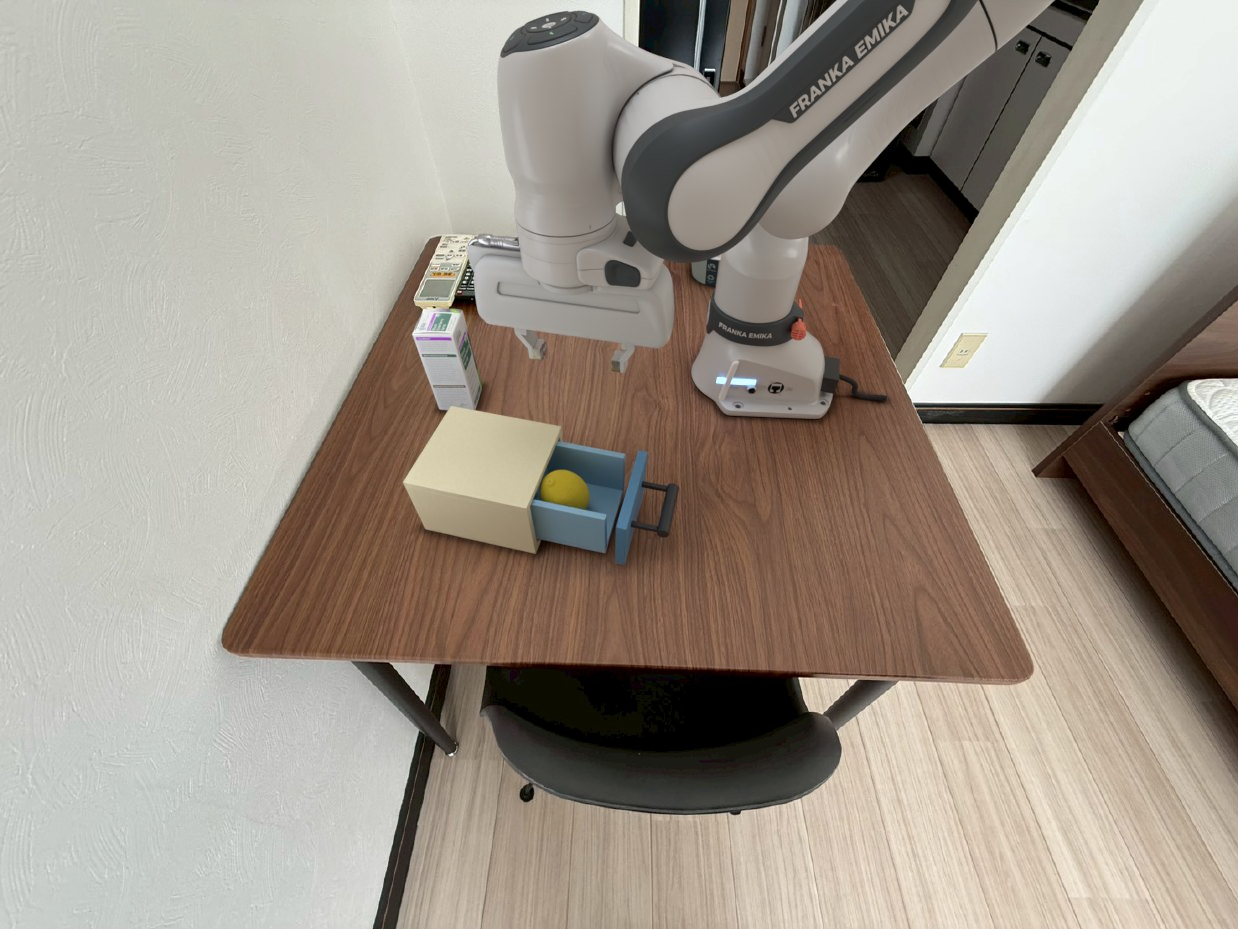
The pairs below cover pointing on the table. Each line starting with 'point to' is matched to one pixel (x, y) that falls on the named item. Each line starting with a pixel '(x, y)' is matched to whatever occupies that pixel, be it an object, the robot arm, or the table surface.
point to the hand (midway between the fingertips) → (578, 362)
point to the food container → (706, 271)
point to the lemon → (564, 489)
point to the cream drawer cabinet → (482, 477)
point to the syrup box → (448, 358)
